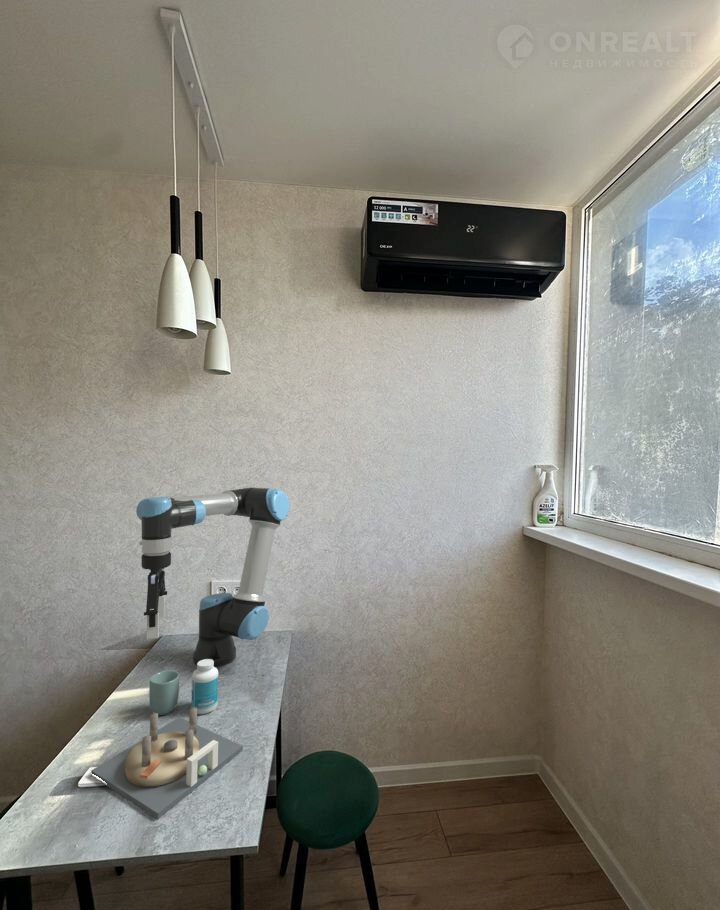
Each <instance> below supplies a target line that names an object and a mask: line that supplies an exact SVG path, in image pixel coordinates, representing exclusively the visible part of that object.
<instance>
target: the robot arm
mask: <svg viewBox="0 0 720 910" xmlns="http://www.w3.org/2000/svg"><path fill="white" fill-rule="evenodd" d="M289 512H290V501H289V497H288V495H287V494H286V493H285V491H283V490H282V489H277V488H273V487H271V488H270V487H269V488H263V487H244V488H243V487H242V488H238V489H236V488H235V489H231V490H224V491H222V492H221V493H215V494H214V493H213V494H201V495H187V496H176V497H175V496H174V497H168V496H155V497H146V498H143V499H142V500H140V501H139V502H138V504H137V505H136V516H137V518H138V519H139V520H140V522H141V541H139V543H138V544H139V545H140V546H141V553H142V555H141V559H140V560H141V564H140V565H141V568H142V569H144V570H148V571H150V572H149V574H148V575H147V590H146V591H147V592H146V609H145V611H144V612H143V616H146V640H149V639H150V640H152V639H159V632H160V631H159V622H160V621H159V620H162V619H163V620H164V619H165V618H166V617H165V616H166V615H165V614H166V613H165V609H166V607H165V606H166V603H165V602H166V601H165V597H166V596H167V595H168V591H167V590H166V580H165V579H166V578H165V577H166V575H165V574H166V572H165V568H169V567H170V565H171V564H172V552H171V551H172V529H178V528H182V527H188V526H189V527H190V526H194V525H197V524H200V523H202V522H203V521H204V520H205V518H206V517H208V516H217V515H225V516H228V517H230V516H239V517H245V518H246V517H247V518H249V520H248V521H249V523H250V525H251V530H250V534H249V540H248V544H247V548H246V554H245V559H244V563H243V568H242V573H241V578H240V582H239V587H238V592H237V593H235V594H234V595H233V594H232V593H230V592H220V593H215V594H209V595H208V596H205V597H203V598H202V599H201V600H200V602H199V609H198V641H197V643H196V646H195V650H194V651H193V654H192V662H193V664H194V665H195V666H197V663H198V662H199V661H201V660H204V659H211V660H213V661H214V666H213V667H215V668H217V667H222V666H225V665H228V664H230V663H232V662H233V661H234V660H235V659H236V657H237V648H236V647H237V646H235V641H234V639H233V637H234V638H239V639H241V640H248V641H252V640H256V639H258V638H259V637H260V636H261V635H262V634H263V633H264V632H265V630H266V628H267V626H268V623H269V619H270V613H269V609H268V608H267V607H266V606H265V604H266V599H265V598H264V596H263V592H264V588H265V587H264V586H265V582H266V576H267V572H268V567H269V562H270V556H271V551H272V548H273V547H272V546H273V541H274V537H275V531H276V529H278V528H279V527H281V522H282V521H284V520H286V519H287V517H288V516H289V514H290V513H289Z"/></svg>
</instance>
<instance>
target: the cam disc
mask: <svg viewBox="0 0 720 910" xmlns="http://www.w3.org/2000/svg"><path fill="white" fill-rule="evenodd" d="M188 718H189V719H188V721H189V730H187V731H186V732H167V733H162V734H159V735H158V730H159V715H158V713H153V712H152V713H151V714H150V715H149V735H150V736H149V735H145V736H144V737H142V739H141V740H142V742H141V743H140V744H138V745H137V746H136V747H135V748H134V749H132V751H131V752H130V753H129V754H128V756H127V758H126V762H125V776H126V778H127V780H128V781H129V782H130V783H132V784H134V785H137V786H141V787H154V786H160V785H164V784H167V783H170V782H172V781H174V780H177V779H178V778H180V777H182V776H183V775H185V774H186V773H187V759H188V758H189V757H190V756H192V755H193V754H195V753H196V752H197V751H199V742H198V740H197V739H196V737H194V736H193V735H195V734H196V731H197V725H198V724H197V723H198V722H197V721H198V714H197V708H191V707H190V709H189V717H188Z"/></svg>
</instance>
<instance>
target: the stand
mask: <svg viewBox="0 0 720 910" xmlns="http://www.w3.org/2000/svg"><path fill="white" fill-rule="evenodd" d="M187 730H189V720H188V719H185V718H183V717H181V716H179V717H177V718H175V719H173V720H172V721H170V722H169V723H167V724H165V725H164V726H162V727H161V728H158V735H159V734H162V733H167V732H186V731H187ZM148 736H150V734H149V735H148ZM193 736H194V737H196V739H197V740H198V742H199V751H197V752H196V753H195V754H193V755H192V756H190V757H189V758H188V759H187V773H186V774H185V775H183V776H182V777H180V778H178V779H177V780H174V781H172V782H170V783H167V784H164V785H160V786H154V787H141V786H137V785H134V784H132V783H130V782H129V781H128V780H127V778H126V776H125V762H126V758H127V756H128V754H129V753H130V752H131V751H132V749H134V748H135V747H136V746H137V745H138V744H140V743H141V742H142V739H141V740H139V741H137V742H136V743H134V744H132V745H131V746H128V748H126V749H124V750H122V751H121V752H119V753H118V754H116V755H115V756H113V757H111V758H109V759H108V760H106V761H104V762H103V763H101V764H99V765H98V766H96V767H94V768H93V769H91V770H90V773H92V774H94V775H96V776H98V777H99V778H101V779H102V780H103V781H105V782H106V783H107V785H105V786H106V787H108V789H109V788H110V789H111V790H113V792H116V793H117V794H119V795H120V796H122V797H123V798H125V799H126V800H128V801H129V802H131V803H132V804H134V805H135V806H136V807H138V808H140V809H141V810H143V811H145V812H146V813H147V814H149V815H150V816H152V817H153V818H155V819H157V820H160V819H161V818H162V817H163V816H164V815H165V814H167V812H169V811H170V810H171V809H173V808H174V807H175V806H176V805H177V804H179V803H180V802H181V801H183V800H184V799H185V798H186V797H187V796H188V795H190V794H191V793H193V792H194V790H196V789H197V788H198V787H200V786H201V785H202V784H203V783H204V782H206V781H207V780H208V779H210V778H211V777H212V776H213V775H214V774H216V773H217V772H219V770H221V769H222V768H223V767H224V766H226V765H227V764H228V763H229V762H230V761H232V760H233V759H234V758H235V757H237V756H238V755H239V754H241V752H243V749H244V748H243V747H244V746H243V745H241V744H239V743H237V742H235V741H233V740H230V739H228V738H227V737H225V736H223V735H220V734H218V733H216V732H213V731H211V730H208V729H207V728H205V727H202V726H200V725H199V724H197V731H196V734H195V735H193Z"/></svg>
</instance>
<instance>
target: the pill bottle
mask: <svg viewBox="0 0 720 910" xmlns="http://www.w3.org/2000/svg"><path fill="white" fill-rule="evenodd" d="M213 666H214V661H213V660H211V659H204V660H201V661H199V662H198V663H197V665H196V669H195V670H194V671H193V673H192V674H191V701H190V702H191V703H190V704H191V707H190V709H191V708H197V715H205V714H206V715H207V714H209V713H211V712H213V711H214V710H216V708H217V707H218V705H219V670H218V668H217V667H213Z"/></svg>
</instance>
